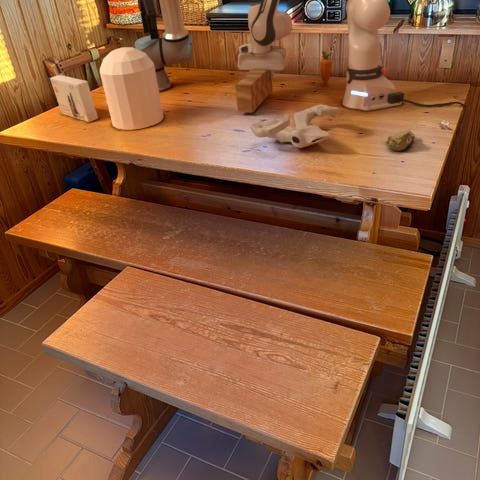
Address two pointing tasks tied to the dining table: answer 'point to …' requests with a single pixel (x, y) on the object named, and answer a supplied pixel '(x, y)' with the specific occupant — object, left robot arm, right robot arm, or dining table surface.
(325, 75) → the carrot
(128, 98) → the container
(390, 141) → the rock
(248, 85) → the box
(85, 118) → the skincare box
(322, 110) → the beige branched piece
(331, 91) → the dining table surface
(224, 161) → the dining table surface
